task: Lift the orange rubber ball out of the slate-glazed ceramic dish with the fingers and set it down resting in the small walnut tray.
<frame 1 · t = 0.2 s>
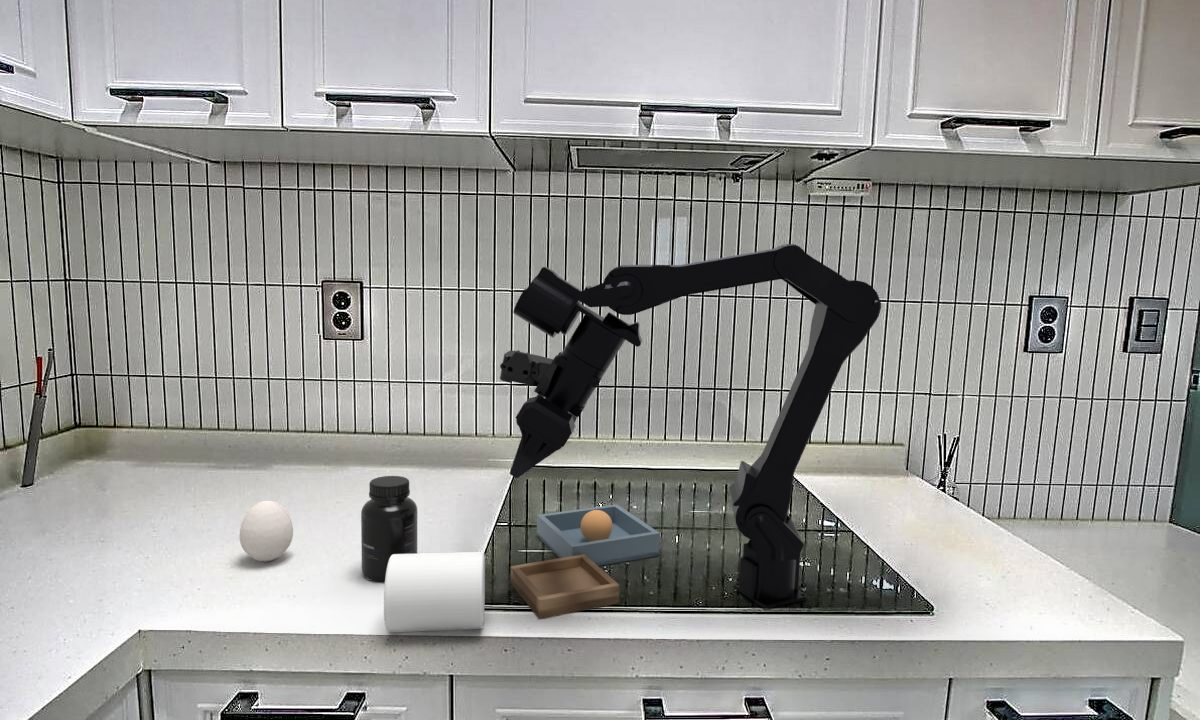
hand: (520, 464, 89), 15 cm above the countertop, tool tilted 30°, fingers open, 9 cm apart
supplement bottle: (390, 573, 92), on the countertop
mug: (439, 618, 80), on the countertop
dish: (596, 545, 102), on the countertop
tray: (563, 592, 87), on the countertop
egg: (267, 561, 95), on the countertop
ball: (596, 526, 102), point 3 cm above the countertop, touching dish
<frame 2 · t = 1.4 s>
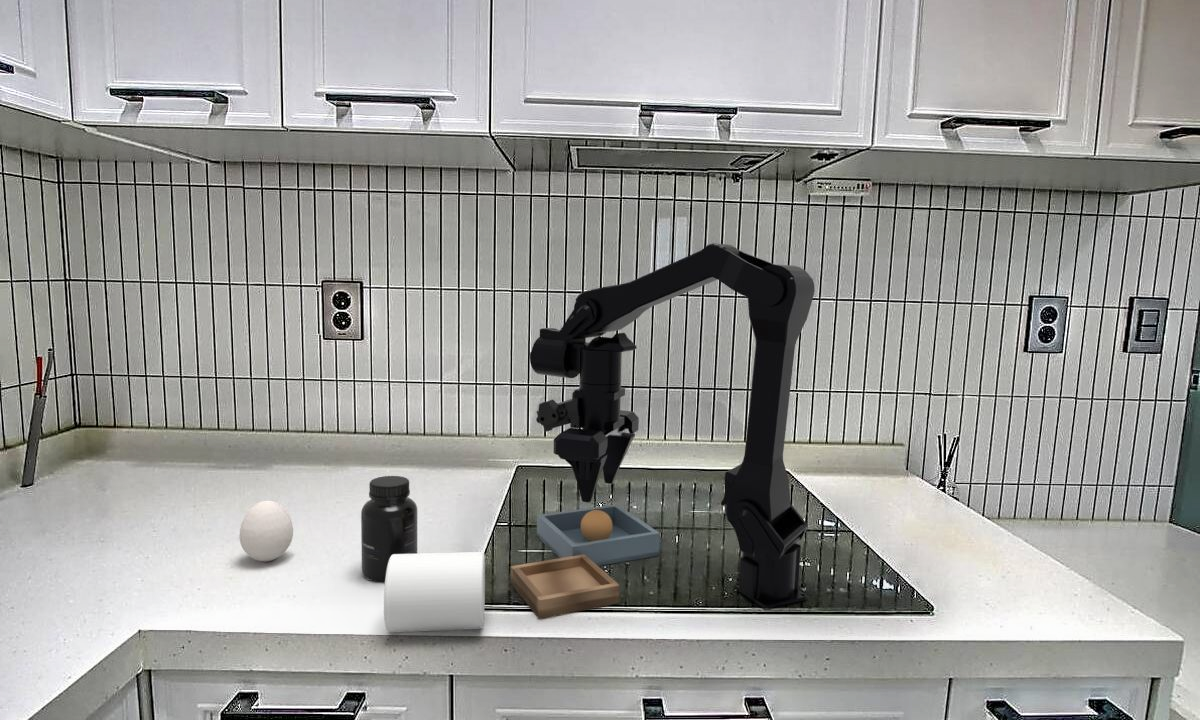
hand: (597, 492, 101), 8 cm above the countertop, tool pointing down, fingers open, 9 cm apart
nothing on the countertop moved.
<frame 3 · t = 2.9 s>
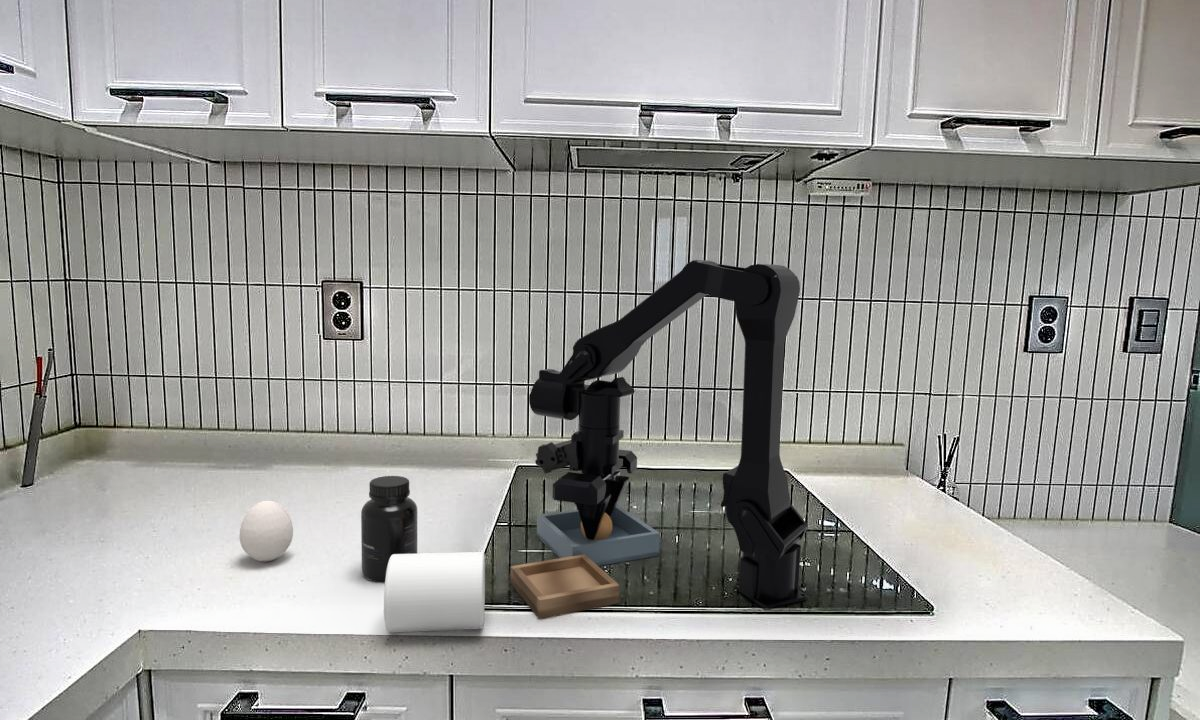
hand: (596, 533, 102), 2 cm above the countertop, tool pointing down, fingers closed on ball, 4 cm apart
ball: (596, 526, 102), point 3 cm above the countertop, touching dish, gripper
everything else where it was.
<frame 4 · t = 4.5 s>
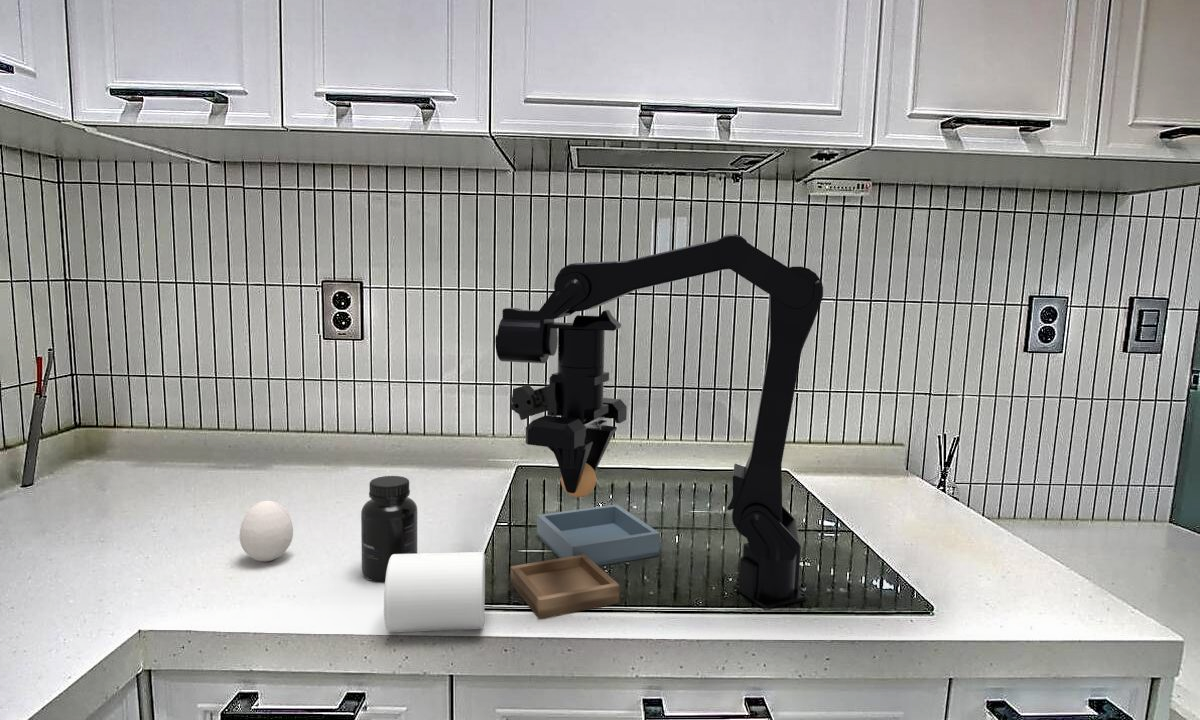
hand: (578, 487, 91), 11 cm above the countertop, tool pointing down, fingers closed on ball, 4 cm apart
ball: (578, 479, 91), point 12 cm above the countertop, touching gripper
everything else where it was.
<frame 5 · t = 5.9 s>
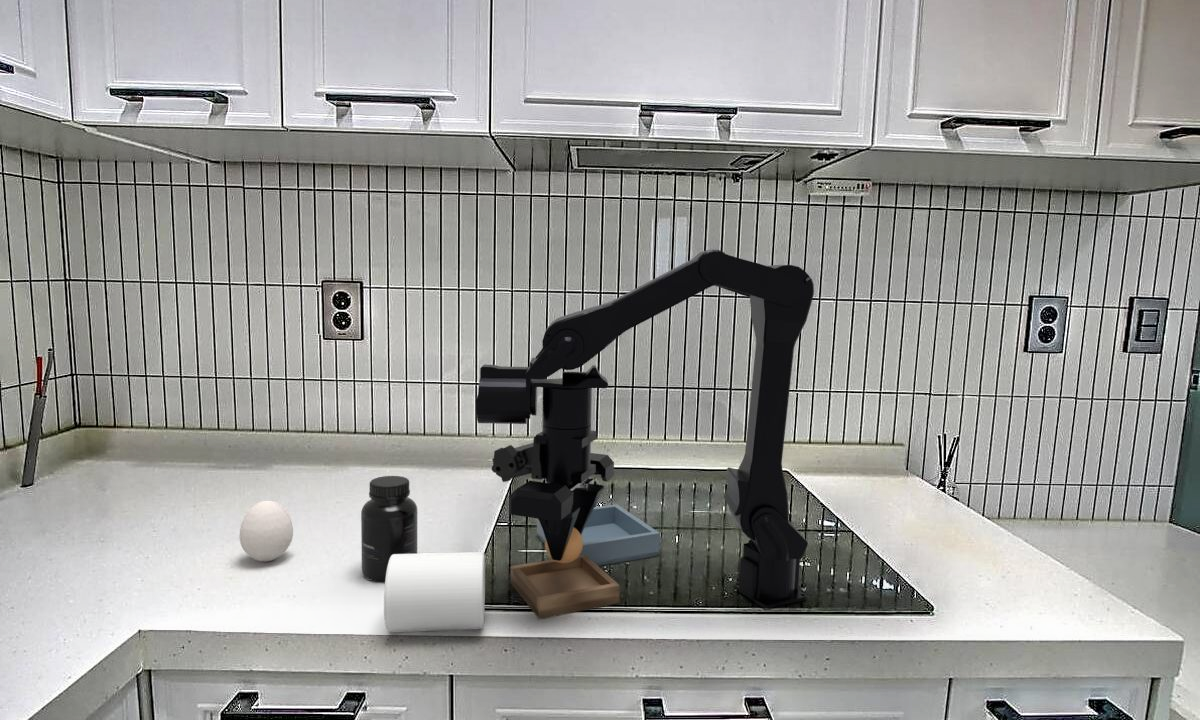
hand: (564, 552, 86), 5 cm above the countertop, tool pointing down, fingers closed on ball, 4 cm apart
ball: (564, 543, 86), point 6 cm above the countertop, touching gripper
everything else where it was.
when the fingers open (3 cm above the countertop, at t = 6.6 s): ball stays where it is, resting on tray.
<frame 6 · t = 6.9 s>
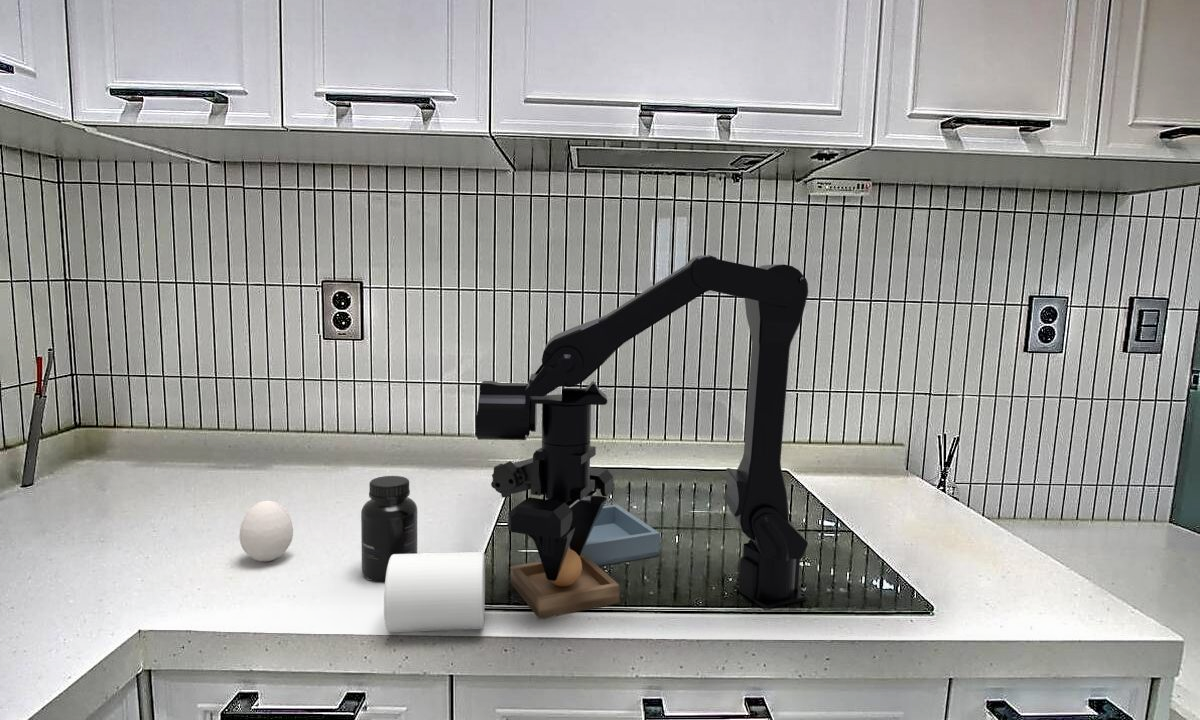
hand: (564, 567, 86), 3 cm above the countertop, tool pointing down, fingers open, 7 cm apart
ball: (563, 567, 86), point 3 cm above the countertop, touching tray
everything else where it was.
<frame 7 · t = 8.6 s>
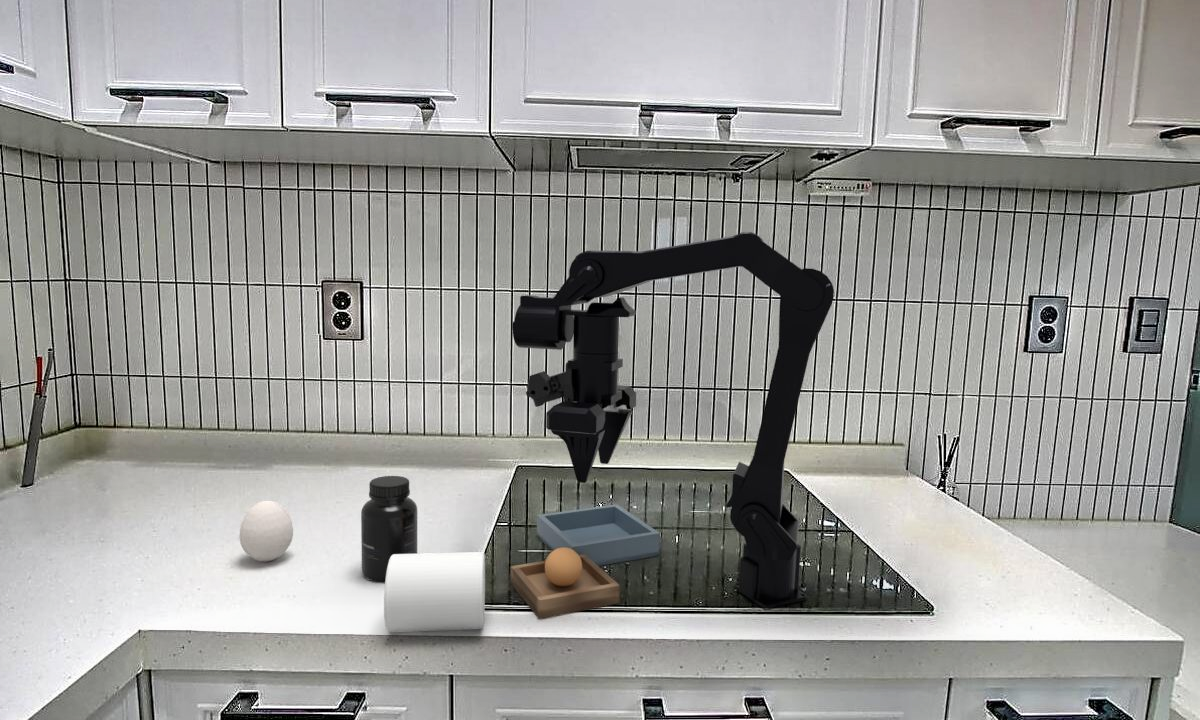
hand: (593, 472, 93), 13 cm above the countertop, tool pointing down, fingers open, 9 cm apart
nothing on the countertop moved.
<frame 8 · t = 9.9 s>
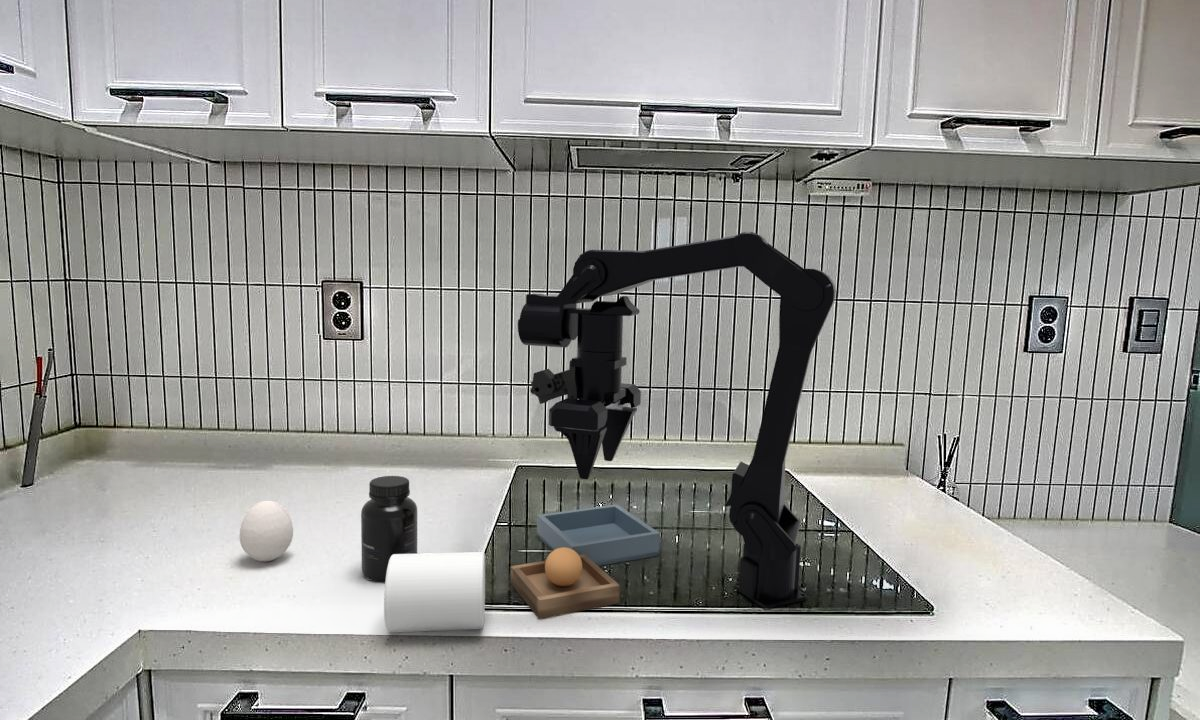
hand: (596, 469, 94), 13 cm above the countertop, tool pointing down, fingers open, 9 cm apart
nothing on the countertop moved.
at the end: ball inside the target area on the tray (0.1 cm from its centre), point 3.2 cm above the tray's base; the gripper is holding nothing; ball touching tray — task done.
